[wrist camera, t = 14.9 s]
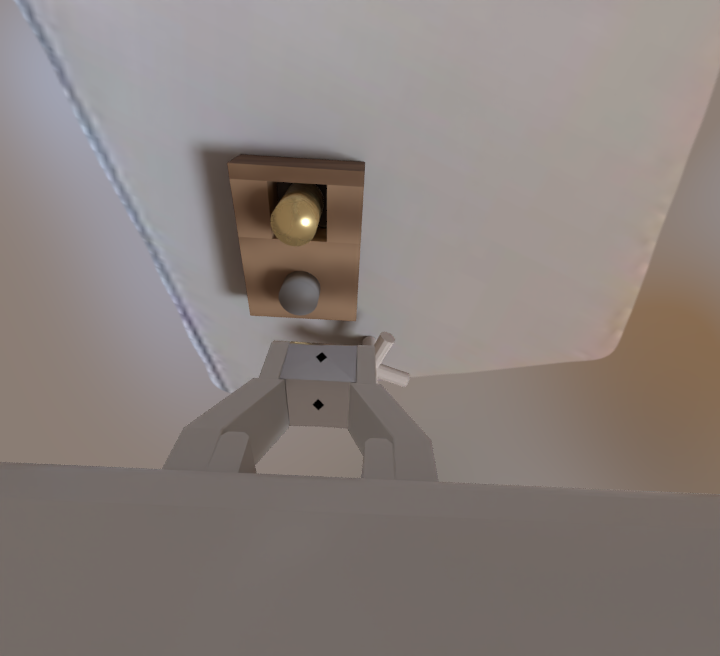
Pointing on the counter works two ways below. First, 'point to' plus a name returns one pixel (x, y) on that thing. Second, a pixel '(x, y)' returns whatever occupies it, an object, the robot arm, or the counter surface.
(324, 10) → the counter surface
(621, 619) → the robot arm
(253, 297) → the jig
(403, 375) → the pipe connector
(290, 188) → the tan cylinder
